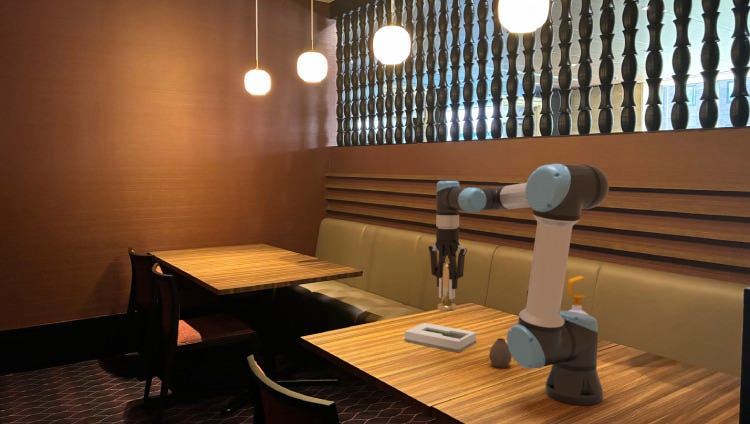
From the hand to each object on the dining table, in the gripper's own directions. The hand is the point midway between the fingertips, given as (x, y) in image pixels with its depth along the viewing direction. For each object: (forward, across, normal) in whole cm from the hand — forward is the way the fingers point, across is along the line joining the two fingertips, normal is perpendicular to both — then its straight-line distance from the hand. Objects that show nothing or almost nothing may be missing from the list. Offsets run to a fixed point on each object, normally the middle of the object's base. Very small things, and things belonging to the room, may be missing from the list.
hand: (447, 297), depth 188 cm
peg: (+4, 0, 0) cm, 4 cm away
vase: (+21, -18, -3) cm, 28 cm away
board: (+20, +10, -14) cm, 27 cm away
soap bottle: (+21, -31, -41) cm, 55 cm away
